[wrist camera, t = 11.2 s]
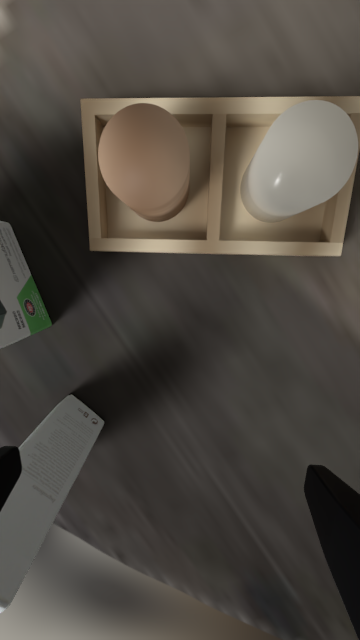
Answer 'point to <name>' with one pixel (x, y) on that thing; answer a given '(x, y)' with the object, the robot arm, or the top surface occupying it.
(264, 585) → the top surface
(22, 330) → the ink box
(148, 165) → the brown egg
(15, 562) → the skincare box
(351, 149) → the cream egg
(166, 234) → the egg tray
